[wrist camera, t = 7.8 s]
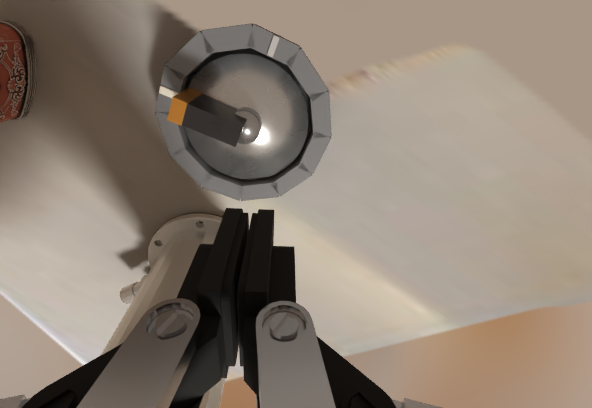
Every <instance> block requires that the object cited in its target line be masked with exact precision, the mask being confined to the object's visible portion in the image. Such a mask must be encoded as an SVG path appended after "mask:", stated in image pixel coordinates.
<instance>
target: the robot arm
mask: <svg viewBox="0 0 592 408" xmlns="http://www.w3.org/2000/svg"><path fill="white" fill-rule="evenodd" d="M273 236H274V210H261V209H259V211H258V213H253V214H252V218H251V223H250V228H249V221H248V213H243V210H242V209H235V208H226V210H225V213H224V215H223V218H222V217H219V216H216V215H210V214H196V213H193V214H187V215H182V216H179V217H176V218H173V219H171V220H170V221H168V222H166V223H165V224H164V225H162V226H161V227H160V228H159V229H158V231H157V232H156V234H155V235H154V236H153V238H152V240H151V242H150V245H149V249H148V260H149V264H150V267H151V270H150V271H149V273H148V275H145V276H144V277H143V278H142V279H141V281H140V282H136V283H134V284H131V285H129V286H127V287H124V288H122V290H121V291H120V298H121V300H122V301H123V302H124V303H126V304H128V303H131V305H130V307H129V308H128V310H127V312H126V313H125V315H124V317H123V318H122V320H121V322H120V324H119V325H118V327H117V329H116V330H115V332H114V334H113V335H112V337H111V339H110V341H109V342H108V344H107V346H106V347H105V349H104V351H103V353H102V354H101V356H99V357H97V358H96V359H94V360H92V361H90V362H89V363H87V364H85V365H84V366H82V367H80V368H78V369H77V370H75V371H73V372H71V373H70V374H68V375H66V376H64V377H63V378H61V379H59V380H57V381H56V382H54V383H52V384H50V385H49V386H47V387H45V388H44V389H42V390H41V391H40V392H38V393H37V394H35V395H34V396H33V397H32V398H29V399H27V398H26V397H25V395H19V396H14V397H9V398H5V399H0V408H220V403H221V398H222V393H223V388H224V383H225V378H227V373H228V367H229V366H235V364H236V358H237V352H238V346H239V351H240V366H244V381H245V382H246V383H247V384H248V386H249V387H250V388H251V389H252V390H253V391H254V392H255V394H256V402H257V408H442V407H437V406H433V405H430V404H426V403H422V402H417V401H414V400H410V399H406V398H404V400H403V402H399V401H395V400H392V399H391V398H390V397H389V396H388V395H387V394H386V393H385V392H384V391H383V390H382V389H381V388H380V387H378V386H377V385H376V384H375V383H374V382H372V381H371V380H369V378H367V377H366V376H365V375H364V374H362V373H361V372H360V371H359V370H358V369H356V368H355V367H354V366H353V365H351V364H350V363H349V362H348V361H347V360H345V359H344V358H343V357H342V356H340V355H339V354H338V353H337V352H336V351H334V350H333V349H332V348H331V347H329V346H328V345H327V344H326V343H324V342H323V341H322V340H321V339H320V338H318V337H317V336H316V332H315V329H314V325H313V321H312V318H311V316H310V314H309V312H308V311H307V310H306V309H305V308H304V307H302V306H301V305H299V304H297V303H296V289H295V255H294V247H285V246H273Z"/></svg>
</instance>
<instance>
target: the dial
mask: <svg viewBox="0 0 592 408" xmlns="http://www.w3.org/2000/svg"><path fill="white" fill-rule="evenodd" d="M167 120H168V121H171V122H173V123H176V124H178V125H180V126H182V125H183V126H185V130H186V133H187V136H188V138H189V140H190V142H191V144H192V146H193V148H194V149H195V151H196V152H197V153H198V154H199V156H200V157H201V158H202V159H203V160H204V161H205V162H206V163H207V164H209V165H210V166H211V167H213V168H214V169H216V170H217V171H219V172H221V173H223V174H225V175H228V176H231V177H234V178H239V179H248V180H252V179H262V178H266V177H269V176H272V175H275V174H277V173H279V172H280V171H282V170H284V169H285V168H286V167H288V166H289V165H290V164H291V163H292V162H293V161H294V160H295V158H296V157H297V156H298V155H299V153H300V151H301V149H302V148H303V145H304V143H305V140H306V136H307V131H308V112H307V106H306V102H305V99H304V96H303V94H302V91H301V89H300V87H299V86H298V84H297V82H296V81H295V80H294V78H293V77H292V76H291V75H290V74H289V73H288V72H287V71H286V70H285V69H284V68H283V67H281V66H280V65H279V64H277V63H276V62H274V61H272V60H270V59H268V58H266V57H263V56H260V55H256V54H249V53H236V54H230V55H226V56H224V57H221V58H218V59H216V60H214V61H212V62H210V63H208V64H207V65H206V66H204V67H203V68H202V69H201V70H200V71H199V72H198V73H197V74H196V75H195V77H194V78H193V79H192V81H191V83H190V85H189V87H188V89H186V90H184V91H182V92H180V93H179V94H177V95H175V96H173V98H172V102H171V106H170V110H169V114H168V118H167Z"/></svg>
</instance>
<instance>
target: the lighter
mask: <svg viewBox="0 0 592 408" xmlns="http://www.w3.org/2000/svg"><path fill="white" fill-rule="evenodd" d="M36 82H37V80H36V57H35V49H34V42H33V39H32V37H31V36H30V34H29V33H28V31H27V30H25V29H24V28H23V27H22V26H20V25H19V24H17V23H14V22H11V21H0V122H3V121H6V120H9V119H10V120H17V119H20V118H23V117H26V116H28V114H29V112H30V109H31V106H32V103H33V100H34V95H35V89H36Z"/></svg>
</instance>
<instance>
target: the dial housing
mask: <svg viewBox="0 0 592 408" xmlns="http://www.w3.org/2000/svg"><path fill="white" fill-rule="evenodd" d="M236 53H249V54H256V55H260V56H263V57H266V58H268V59H270V60H272V61H274V62H276V63H277V64H279V65H280V66H281V67H283V68H284V69H285V70H286V71H287V72H288V73H289V74H290V75H291V76H292V77H293V78H294V80H295V81H296V82H297V84H298V86H299V87H300V89H301V91H302V94H303V96H304V99H305V102H306V106H307V112H308V131H307V136H306V140H305V143H304V145H303V148H302V149H301V151H300V153H299V155H298V156H297V157H296V158H295V160H294V161H293V162H292V163H291V164H290V165H289V166H288V167H286V168H285V169H284V170H282V171H280V172H279V173H277V174H275V175H272V176H269V177H266V178H262V179H252V180H248V179H239V178H234V177H231V176H228V175H225V174H223V173H221V172H219V171H217V170H216V169H214V168H213V167H211V166H210V165H209V164H207V163H206V162H205V161H204V160H203V159H202V158H201V157H200V156H199V154H198V153H197V152H196V151H195V149H194V148H193V146H192V144H191V142H190V140H189V138H188V136H187V133H186V130H185V126H183V125H182V126H180V125H178V124H176V123H173V122H171V121H168V120H167V118H168V114H169V110H170V106H171V102H172V98H173V96H175V95H177V94H179V93H180V92H182V91H184V90H186V89H188V87H189V85H190V83H191V81H192V79H193V78H194V77H195V75H196V74H197V73H198V72H199V71H200V70H201V69H202V68H203V67H204V66H206V65H207V64H208V63H210V62H212V61H214V60H216V59H218V58H221V57H224V56H226V55H230V54H236ZM155 111H157V112H155V113H156V116H157V119H158V122H159V125H160V128H161V131H162V134H163V137H164V140H165V143H166V146H167V149H168V152H169V155H171V156H170V157H171V158H173V159H174V160H175V161H176V162H177V163H178V164H179V165H180V166H181V167H182V168H183V169H184V170H185V171H186V172H187V173H188V174H189V175H190V176H191V177H192V178H193V179H194V180H195V181H196V182H197V183H198V184H199V185H200V186H201V185H202V187H203V188H205V189H208V190H211V191H214V192H217V193H219V194H222V195H225V196H228V197H230V198H233V199H236V200H240V199H241V201H245V200H254V199H264V198H273V197H279V195H280V196H282V195H283V194H285V193H286V192H288V191H289V190H291V189H292V188H294V187H295V186H297V185H298V184H300V183H301V182H303V181H304V180H306V179H307V178H309V177H310V176H312V174H313V173H314V171H315V169H316V167H317V165H318V163H319V161H320V159H321V157H322V155H323V153H324V151H325V149H326V147H327V145H328V143H329V141H330V139H331V136H332V134H331V116H330V99H329V91H328V88H327V87H326V85H325V84H324V82H323V81H322V79H321V77H320V76H319V74H318V73H317V71H316V70H315V68H314V67H313V65H312V64H311V62H310V60H309V59H308V57H307V56H306V54H305V53H304V51H303V50H302V48H301V47H300V46H299V45H297V44H295V43H293V42H291V41H289V40H287V39H285V38H283V37H281V36H279V35H277V34H275V33H273V32H270V31H268V30H266V29H264V28H262V27H260V26H258V25H255V24H245V25H237V26H231V27H222V28H215V29H207V30H202V31H199V32H198V33H197V34H196V35H195V36H194V37H193V38H192V39H191V40H190V41H189V42H188V43H187V44H186V45H185V46H184V47H183V48H181V49H180V50H179V51H178V52H177V53H176V54H175V55H174V56H173V57H172V58H171V59H170V60H169V61H168V62H167V63H166V65H165V66H164V70H163V75H162V79H161V84H160V89H159V94H158V99H157V104H156V109H155Z"/></svg>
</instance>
